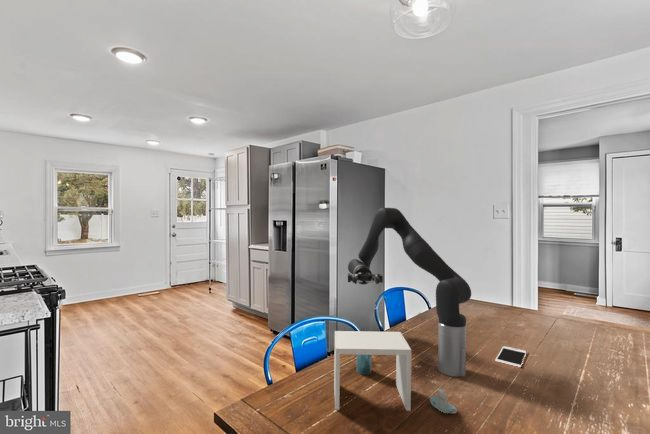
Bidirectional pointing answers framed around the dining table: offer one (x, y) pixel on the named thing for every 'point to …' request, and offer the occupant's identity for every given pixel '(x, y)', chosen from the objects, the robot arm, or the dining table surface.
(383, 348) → the low shelf
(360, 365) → the teal bottle
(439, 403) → the pacifier
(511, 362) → the cell phone
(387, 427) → the dining table surface
